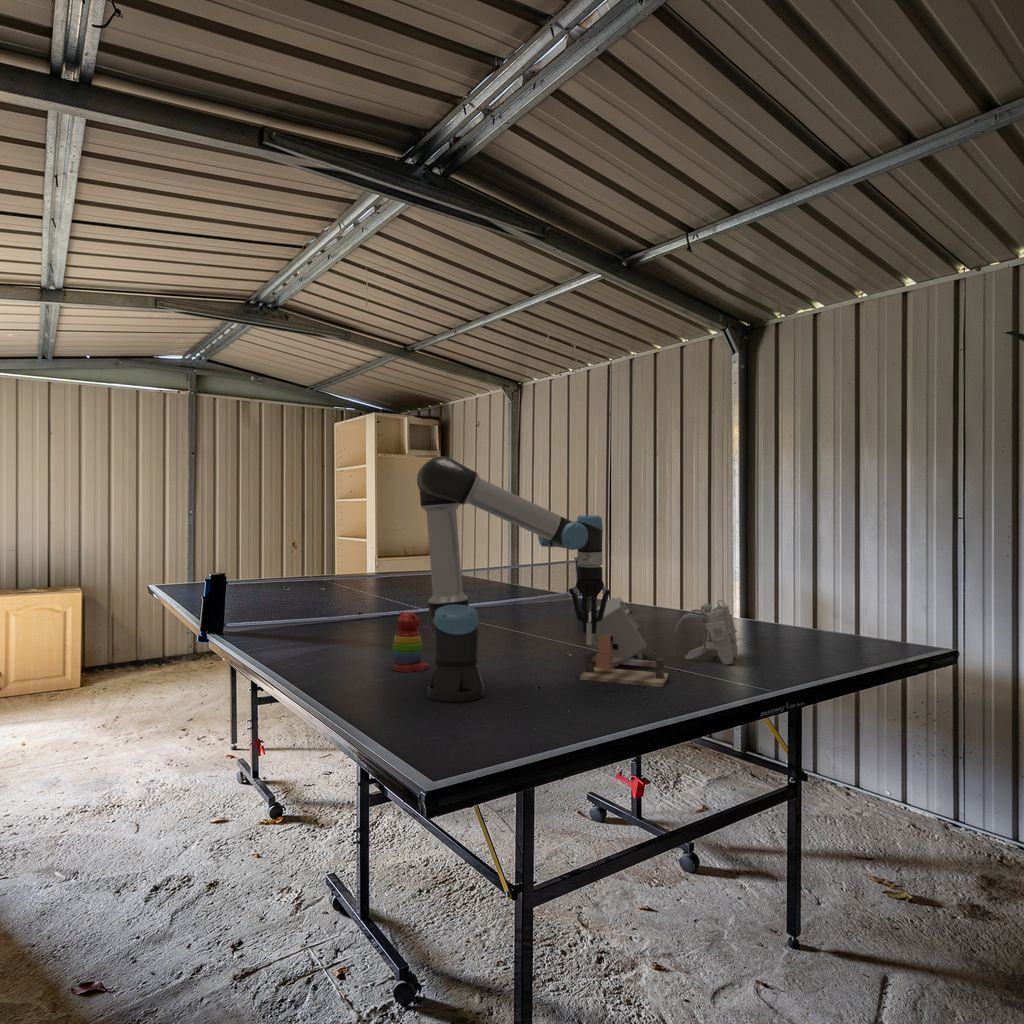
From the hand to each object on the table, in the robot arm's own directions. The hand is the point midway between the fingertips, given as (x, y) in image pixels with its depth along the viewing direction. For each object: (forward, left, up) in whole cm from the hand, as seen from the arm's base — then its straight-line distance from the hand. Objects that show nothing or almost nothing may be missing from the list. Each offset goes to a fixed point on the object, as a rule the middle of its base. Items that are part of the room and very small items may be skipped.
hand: (589, 643), depth 199 cm
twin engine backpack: (+31, +36, -10) cm, 49 cm away
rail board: (+10, 0, -10) cm, 14 cm away
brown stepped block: (+4, 0, -7) cm, 8 cm away
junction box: (+2, +21, -10) cm, 23 cm away
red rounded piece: (-56, -12, -10) cm, 58 cm away
